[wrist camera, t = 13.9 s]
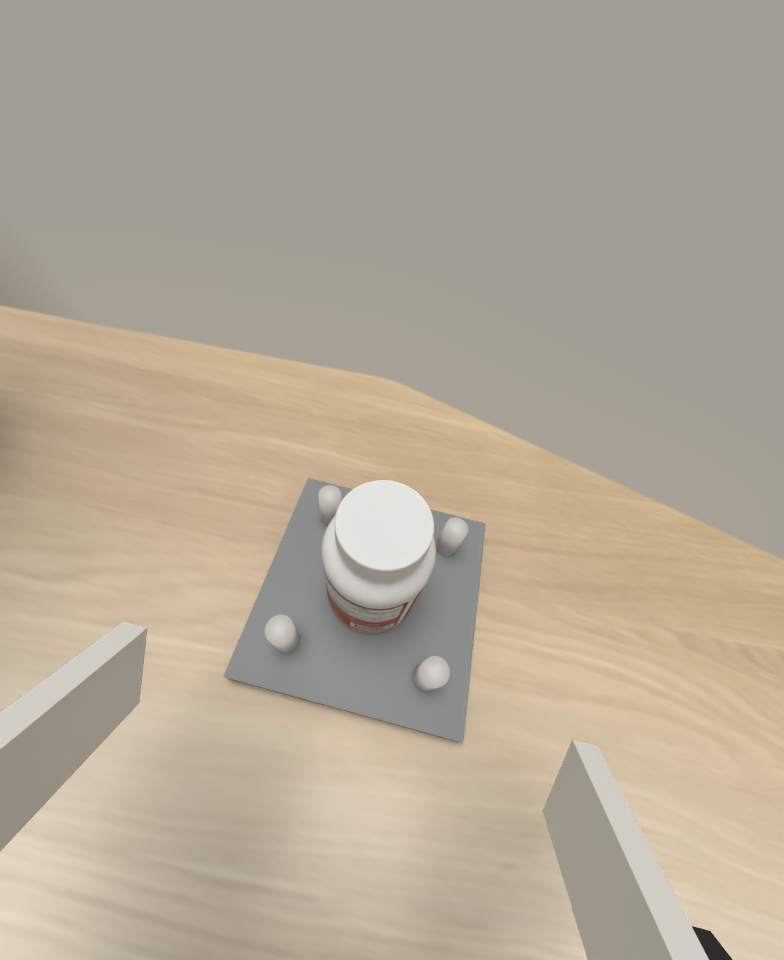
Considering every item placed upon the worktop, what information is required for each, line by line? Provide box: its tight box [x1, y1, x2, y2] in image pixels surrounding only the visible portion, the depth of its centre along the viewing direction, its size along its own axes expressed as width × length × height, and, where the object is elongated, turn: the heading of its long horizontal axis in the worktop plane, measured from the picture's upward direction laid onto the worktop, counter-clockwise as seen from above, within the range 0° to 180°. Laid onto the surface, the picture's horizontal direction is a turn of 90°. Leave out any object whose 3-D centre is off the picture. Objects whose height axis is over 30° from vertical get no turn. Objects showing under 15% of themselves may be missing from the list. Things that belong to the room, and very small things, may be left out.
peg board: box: [224, 478, 485, 743], centre depth 26 cm, size 15×15×5 cm
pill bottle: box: [322, 480, 436, 634], centre depth 22 cm, size 6×6×11 cm
